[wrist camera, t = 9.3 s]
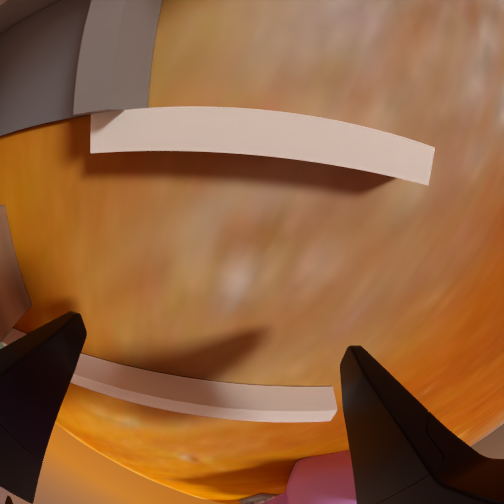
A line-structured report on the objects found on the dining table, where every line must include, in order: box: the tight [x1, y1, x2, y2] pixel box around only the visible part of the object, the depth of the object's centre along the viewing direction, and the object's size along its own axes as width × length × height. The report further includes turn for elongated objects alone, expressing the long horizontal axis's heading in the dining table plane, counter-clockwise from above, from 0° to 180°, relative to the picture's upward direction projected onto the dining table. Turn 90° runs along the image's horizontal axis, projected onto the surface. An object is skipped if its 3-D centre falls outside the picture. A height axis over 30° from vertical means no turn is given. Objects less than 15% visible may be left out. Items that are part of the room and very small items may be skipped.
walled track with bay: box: [0, 0, 435, 422], centre depth 8 cm, size 29×21×2 cm
